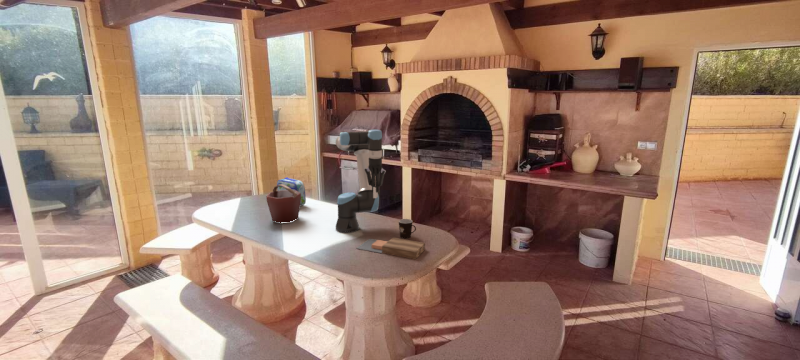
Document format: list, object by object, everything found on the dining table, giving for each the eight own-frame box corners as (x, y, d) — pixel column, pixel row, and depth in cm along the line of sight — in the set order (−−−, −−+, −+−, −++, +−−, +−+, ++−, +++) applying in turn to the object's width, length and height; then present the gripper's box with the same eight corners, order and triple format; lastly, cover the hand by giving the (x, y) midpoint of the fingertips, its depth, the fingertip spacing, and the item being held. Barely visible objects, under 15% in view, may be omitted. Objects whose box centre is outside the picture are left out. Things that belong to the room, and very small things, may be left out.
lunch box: (276, 203, 308) (274, 177, 303) (287, 200, 316) (285, 175, 311) (295, 209, 292) (294, 182, 287) (307, 206, 300) (306, 179, 295)
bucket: (306, 221, 263) (304, 186, 258) (273, 227, 251) (271, 190, 245) (294, 212, 283) (292, 179, 277) (263, 218, 271) (260, 183, 265)
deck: (392, 243, 225) (392, 237, 224) (424, 249, 217) (425, 243, 216) (382, 252, 212) (382, 246, 211) (415, 259, 204) (415, 252, 203)
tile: (377, 243, 225) (377, 239, 224) (390, 245, 222) (390, 241, 221) (371, 248, 218) (371, 244, 217) (384, 250, 215) (384, 246, 214)
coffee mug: (396, 235, 239) (396, 219, 236) (408, 233, 242) (409, 218, 240) (403, 241, 228) (403, 225, 226) (416, 239, 231) (417, 223, 229)
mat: (369, 239, 232) (369, 238, 232) (393, 243, 226) (393, 242, 225) (356, 248, 218) (356, 248, 218) (381, 253, 211) (381, 252, 211)
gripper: (361, 157, 215) (362, 197, 221) (382, 159, 210) (382, 200, 216) (368, 155, 222) (368, 194, 228) (388, 157, 217) (388, 197, 223)
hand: (375, 197), depth 222 cm, fingers closed
